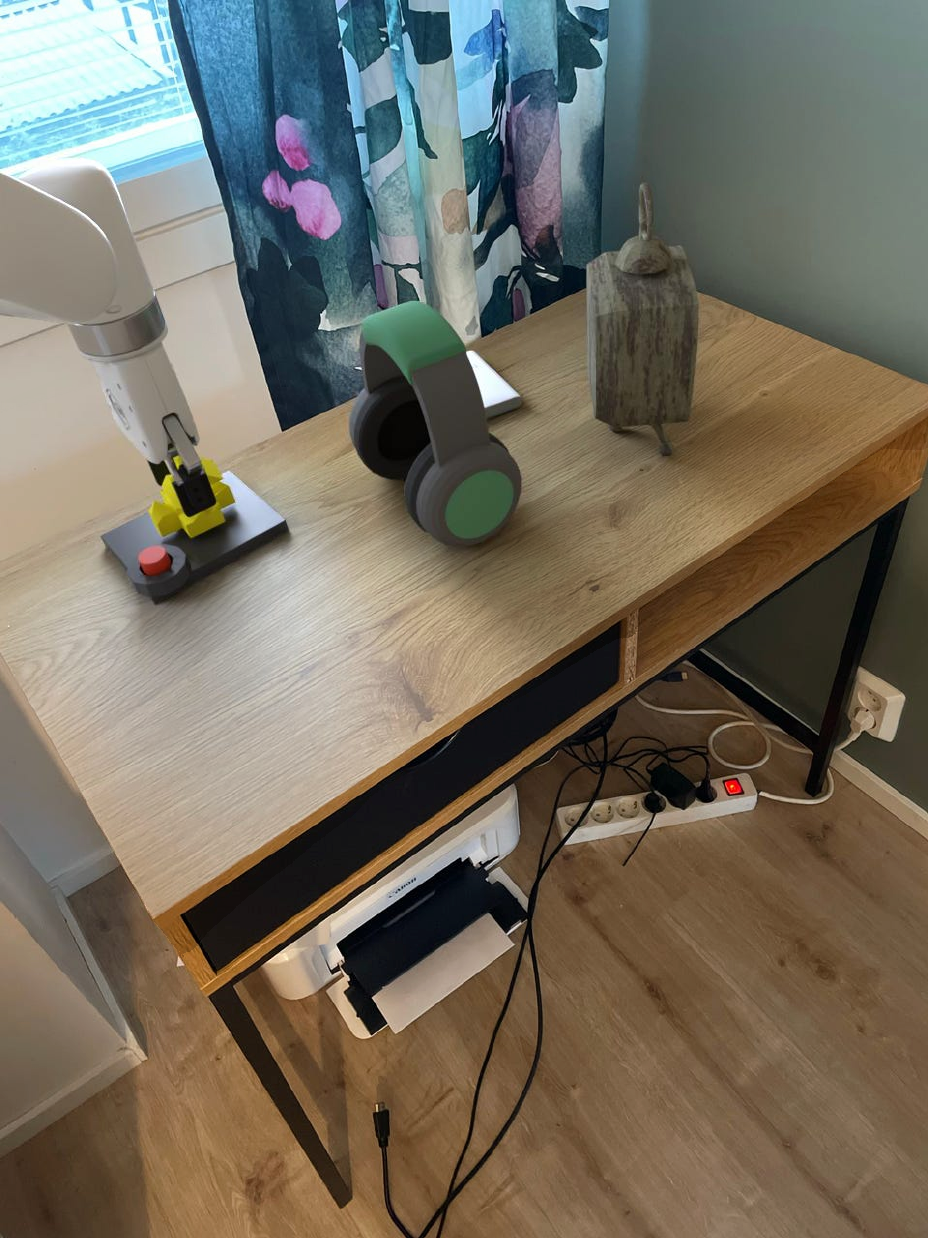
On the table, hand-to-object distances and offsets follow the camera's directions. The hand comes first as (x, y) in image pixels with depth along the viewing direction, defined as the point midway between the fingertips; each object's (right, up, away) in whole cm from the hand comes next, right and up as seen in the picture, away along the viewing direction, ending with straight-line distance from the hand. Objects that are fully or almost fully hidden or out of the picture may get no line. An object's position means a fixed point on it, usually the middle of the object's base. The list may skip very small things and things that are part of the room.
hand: (186, 492), depth 88 cm
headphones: (+25, 0, +3) cm, 25 cm away
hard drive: (+28, +14, +17) cm, 35 cm away
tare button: (-2, -7, -4) cm, 8 cm away
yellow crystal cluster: (0, -2, +2) cm, 3 cm away
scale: (0, -4, +3) cm, 5 cm away
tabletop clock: (+46, +8, +8) cm, 47 cm away
